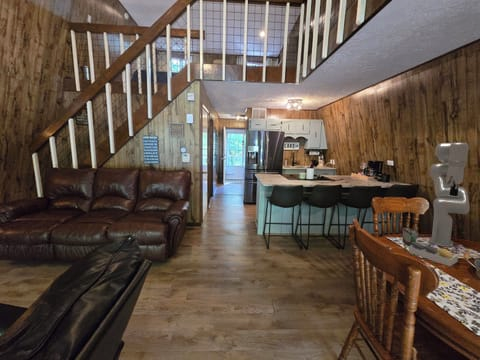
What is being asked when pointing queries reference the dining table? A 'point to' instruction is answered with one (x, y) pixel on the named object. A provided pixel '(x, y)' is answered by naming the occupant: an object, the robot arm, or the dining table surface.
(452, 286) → the dining table surface
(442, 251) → the rocker
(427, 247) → the rocker
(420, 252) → the grey tray
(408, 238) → the food container
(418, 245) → the rocker
